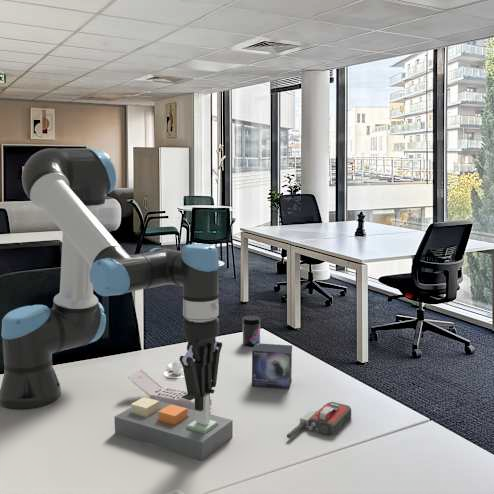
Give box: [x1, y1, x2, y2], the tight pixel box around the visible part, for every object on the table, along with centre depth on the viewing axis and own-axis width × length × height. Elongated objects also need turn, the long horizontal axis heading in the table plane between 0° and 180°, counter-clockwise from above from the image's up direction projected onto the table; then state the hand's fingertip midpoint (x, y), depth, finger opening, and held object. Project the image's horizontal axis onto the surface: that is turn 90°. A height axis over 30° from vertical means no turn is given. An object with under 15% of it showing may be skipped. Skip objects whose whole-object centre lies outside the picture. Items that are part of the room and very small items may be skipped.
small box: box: [251, 342, 293, 390], centre depth 163 cm, size 11×6×10 cm, turn 80°
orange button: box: [158, 404, 187, 425], centre depth 133 cm, size 5×5×4 cm
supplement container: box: [242, 315, 261, 347], centre depth 197 cm, size 6×6×9 cm
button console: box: [114, 397, 234, 461], centre depth 133 cm, size 24×12×4 cm, turn 60°
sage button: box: [188, 420, 217, 434], centre depth 129 cm, size 5×5×4 cm
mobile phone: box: [127, 369, 213, 415], centre depth 151 cm, size 6×6×25 cm
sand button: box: [130, 396, 160, 417], centre depth 137 cm, size 5×5×4 cm
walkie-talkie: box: [286, 401, 352, 440], centre depth 137 cm, size 9×4×20 cm
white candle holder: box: [162, 358, 185, 379], centre depth 172 cm, size 9×8×4 cm
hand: (202, 422), depth 129 cm, fingers closed
